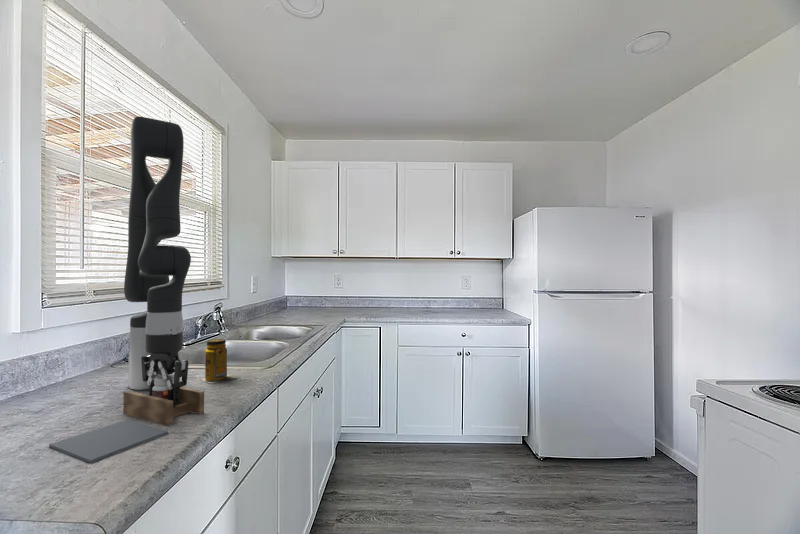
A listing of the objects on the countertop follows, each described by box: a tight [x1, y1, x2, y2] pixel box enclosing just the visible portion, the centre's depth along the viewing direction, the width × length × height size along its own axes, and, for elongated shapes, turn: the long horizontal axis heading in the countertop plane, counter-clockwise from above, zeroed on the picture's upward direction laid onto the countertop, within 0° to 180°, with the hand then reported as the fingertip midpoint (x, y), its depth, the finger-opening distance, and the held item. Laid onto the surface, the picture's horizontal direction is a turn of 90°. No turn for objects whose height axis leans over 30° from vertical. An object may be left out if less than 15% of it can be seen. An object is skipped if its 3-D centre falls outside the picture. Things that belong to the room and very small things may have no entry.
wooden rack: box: [122, 386, 205, 427], centre depth 94 cm, size 16×9×5 cm, turn 64°
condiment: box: [199, 338, 238, 385], centre depth 123 cm, size 7×8×12 cm
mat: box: [48, 419, 169, 464], centre depth 79 cm, size 14×14×1 cm
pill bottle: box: [152, 376, 175, 406], centre depth 94 cm, size 5×5×8 cm
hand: (164, 402), depth 93 cm, fingers open, 6 cm apart
